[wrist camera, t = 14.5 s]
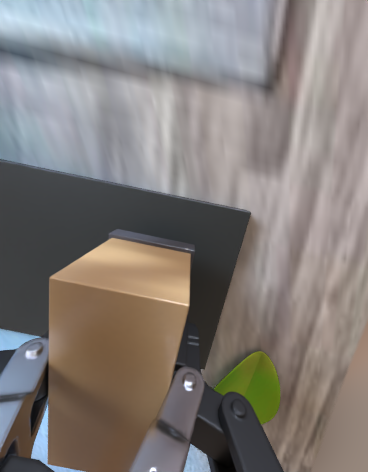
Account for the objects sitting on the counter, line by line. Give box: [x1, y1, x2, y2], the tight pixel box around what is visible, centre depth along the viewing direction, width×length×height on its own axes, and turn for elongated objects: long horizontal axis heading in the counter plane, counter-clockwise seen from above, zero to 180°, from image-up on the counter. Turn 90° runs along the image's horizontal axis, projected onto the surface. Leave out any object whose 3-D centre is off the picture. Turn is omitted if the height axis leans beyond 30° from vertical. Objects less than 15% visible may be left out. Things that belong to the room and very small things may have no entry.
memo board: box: [0, 159, 251, 369], centre depth 16 cm, size 22×15×1 cm
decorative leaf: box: [213, 351, 280, 424], centre depth 19 cm, size 8×9×1 cm
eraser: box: [48, 229, 195, 472], centre depth 10 cm, size 5×10×6 cm, turn 169°
